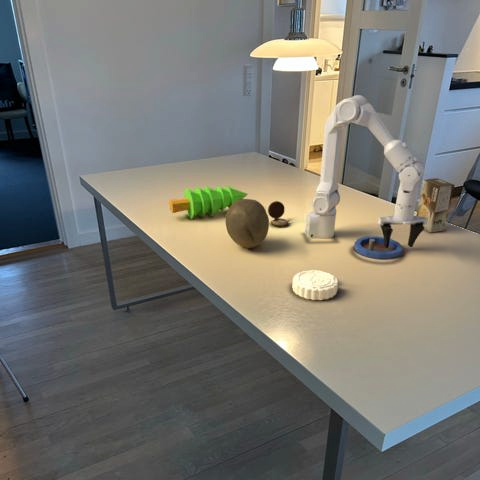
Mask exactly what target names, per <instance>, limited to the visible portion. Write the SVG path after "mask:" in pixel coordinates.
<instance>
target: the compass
mask: <svg viewBox="0 0 480 480" xmlns="http://www.w3.org/2000/svg"><path fill="white" fill-rule="evenodd" d="M285 211H286V210H285V205H284V204H283V202H281V201H279V200H275V201H273V202H271V203H270V204H269V205H268V207H267V214H268V216H269V217H270V218H271V219H272V220H271V221H270V225H271V226H273V227H274V228H275V227H276V228H284V227H287V226H288V225H289V223H290V222H291V223H293V222H294V221H293V220H292V219H288V220H287V219H285V218H282V216H283V215H284V214H285Z"/></svg>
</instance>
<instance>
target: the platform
mask: <svg viewBox="0 0 480 480" xmlns="http://www.w3.org/2000/svg"><path fill="white" fill-rule="evenodd" d="M361 246H362V247H363V248H365V249H368V250H370V251H376V252H390V251H393V250H395V249H394V248H393V247H391V246H389V247H388V248H386V247H385V246H384V244H382V243H375V240H374V239H370V241H369V243H366V244H362V245H361ZM352 249H353V251H354V253H356V254H357V255H359V256H362V257H364V258H367V259H371V260H379V261H391V260H396V259H398V258H400V257H402V256H403V253H404V251H403V250H402V252H401V254H400V256H398V257H395V258H392V259H376V258H370V257H366V256H364V255H361V254H359V253H357V252H356V250H355V249H354V245H353V246H352Z"/></svg>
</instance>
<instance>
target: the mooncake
mask: <svg viewBox="0 0 480 480" xmlns="http://www.w3.org/2000/svg"><path fill="white" fill-rule="evenodd" d="M291 285H292V291H293V292H294V294H295V295H297V296H299V297H300V298H304V299H306V300H311V301H323V300H329V299H331V298H334V296H336V295H337V292H338V287H339V281H338V278H337V277H336V276H335V275H334V274H331V273H329V272H325V271H323V270H320V269H310V270H303V271H300V272H297V274H294V275H293V278H292V284H291Z"/></svg>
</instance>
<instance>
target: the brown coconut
mask: <svg viewBox="0 0 480 480" xmlns="http://www.w3.org/2000/svg"><path fill="white" fill-rule="evenodd" d="M225 228H226V231H227V232H226V233H227V234H228V235H229V237H230V238H231V240H232V241H233V242H234V243H235V244H237V245H238V246H240V247H242V248H244V249H253V248H256V247H259V246H260V245H262V244H263V242H264V241H265V240H266V238H267V235H268V233H269V229H270V219H269V214H268V212H267V211H266V209H265V206H264V205H263V204H262V203H261V202H259V201H258V200H257V199H250V198H243V199H241V200H238V201H236V202H235V203H233V204H232V205H231V207H230V208H229V207H228V210H227V212H226V213H225Z"/></svg>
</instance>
